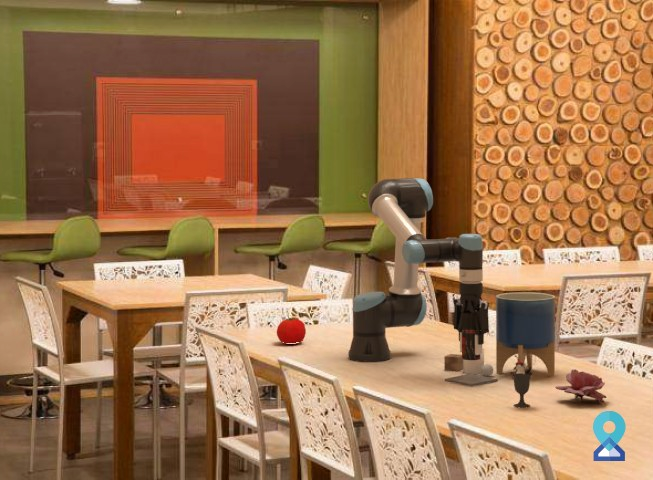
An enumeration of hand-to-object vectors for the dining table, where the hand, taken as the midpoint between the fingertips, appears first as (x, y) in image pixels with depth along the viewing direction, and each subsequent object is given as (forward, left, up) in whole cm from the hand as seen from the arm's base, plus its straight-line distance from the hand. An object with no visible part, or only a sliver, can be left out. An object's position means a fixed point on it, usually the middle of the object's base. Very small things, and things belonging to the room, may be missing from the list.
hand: (471, 352), depth 404 cm
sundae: (+35, -16, -9) cm, 40 cm away
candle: (-9, +11, -9) cm, 17 cm away
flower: (+44, +1, -10) cm, 45 cm away
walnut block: (-17, +10, -9) cm, 22 cm away
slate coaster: (0, 0, -9) cm, 9 cm away
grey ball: (-2, +10, -9) cm, 14 cm away
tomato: (-96, +3, -10) cm, 96 cm away
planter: (+5, +21, -10) cm, 24 cm away
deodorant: (0, 0, -2) cm, 2 cm away
